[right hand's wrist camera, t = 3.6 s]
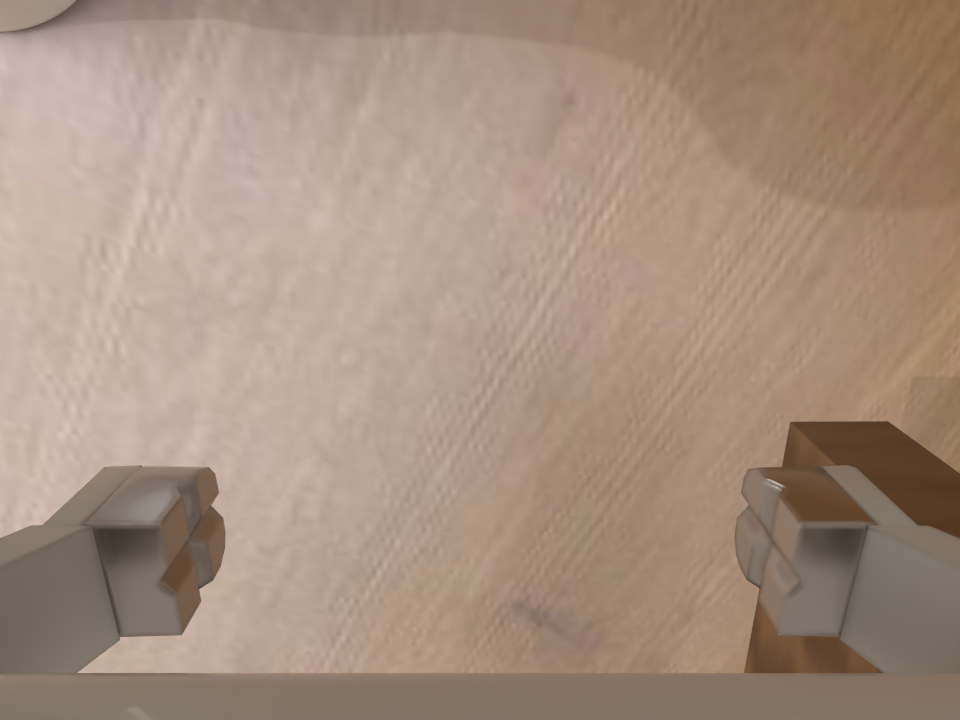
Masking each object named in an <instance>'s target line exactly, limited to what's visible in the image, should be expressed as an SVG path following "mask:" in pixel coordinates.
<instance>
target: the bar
mask: <svg viewBox="0 0 960 720" xmlns="http://www.w3.org/2000/svg"><path fill="white" fill-rule="evenodd" d="M843 465H848V466H851V467H855V468H857V469H858V470H859V471H860V472H861V473H862V474H863V475H865V476H866V477H867V478H868V479H869V480H870V481H871V482H872V483H873V484H874V485H875V486H876V487H877V488H878V489H879V490H881V491H882V492H883V493H884V494H885V495H886V496H887V497H888V498H889V499H890V500H891V501H892V502H893V503H894V504H895V505H896V506H898V507H899V508H900V509H901V510H902V511H903V512H904V513H905V514H906V515H907V516H908V517H909V518H910V519H911V520H912V521H914V522H915V523H916V524H917V525H918V526H931V527H933V528H936V529H938V530H941V531H943V532H945V533H948V534H950V535H952V536H955V537H957V538H960V473H958V472H957V471H955V470H954V469H953V468H951V467H950V466H949V465H947V464H946V463H944V462H943V461H942V460H940V459H939V458H938V457H936V456H935V455H933V454H932V453H931V452H929V451H928V450H927V449H925V448H924V447H922V446H921V445H920V444H918V443H917V442H916V441H914V440H913V439H911V438H910V437H909V436H907V435H906V434H905V433H903V432H902V431H901V430H899V429H898V428H896V427H895V426H894V425H892V424H891V423H890V422H790V427H789V432H788V437H787V443H786V448H785V454H784V459H783V465H782V467H809V466H843ZM760 592H761V589H759V595H758V600H757V606H756V611H755V617H754V622H753V628H752V633H751V638H750V644H749V649H748V655H747V660H746V666H745V671H744V673H883V672H882V671H880V670H879V669H878V668H876V667H875V666H874V665H873V664H871V663H870V662H869V661H867V660H866V659H865V658H863V657H862V656H861V655H859V654H858V653H857V652H855V651H854V650H853V649H852V648H850V647H849V646H848V645H846V644H845V643H844V642H842V641H841V640H840V637H826V636H789V635H778V634H777V632H776V630H775V628H774V627H773V625H772V623H771V622H770V620H769V618H768V616H767V615H766V613H765V611H764V609H763V608H762V606H761V604H760V602H759V597H760Z"/></svg>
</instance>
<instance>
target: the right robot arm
mask: <svg viewBox="0 0 960 720" xmlns="http://www.w3.org/2000/svg"><path fill="white" fill-rule="evenodd" d="M76 1H77V0H0V32H7V31H15V30H21V29H26V28H30V27H33V26H36V25H39V24H41V23H44V22H46V21H48V20H50V19H52V18H54V17H56V16H57V15H59V14H60V13H62V12H64V11H65V10H66V9H67V8H69V7H70V6H71V5H72V4H74V3H75V2H76ZM218 494H219V491H218V486H217V481H216V476H215V473H214V472H213V471H212V470H211V469H210V468H209V467H166V466H144V467H143V466H141V465H139V466H111V467H104V468H103V469H102V470H101V471H100V472H99V473H98V474H97V475H96V476H95V477H94V478H92V479H91V480H90V481H89V482H88V483H87V484H86V485H85V486H84V487H83V488H82V489H81V490H80V491H79V492H78V493H76V494H75V495H74V496H73V497H72V498H71V499H70V500H69V501H68V502H67V503H66V504H65V505H64V506H63V507H61V508H60V509H59V510H58V511H57V512H56V513H55V514H54V515H53V516H52V517H51V518H50V519H49V520H48V521H47V522H45V523H44V524H43V525H42V526H29V527H27V528H24V529H22V530H19V531H17V532H15V533H12V534H10V535H8V536H5V537H3V538H0V720H960V538H957V537H955V536H952V535H950V534H948V533H945V532H943V531H941V530H938V529H936V528H933V527H931V526H918V525H917V524H916V523H915V522H914V521H912V520H911V519H910V518H909V517H908V516H907V515H906V514H905V513H904V512H903V511H902V510H901V509H900V508H899V507H898V506H896V505H895V504H894V503H893V502H892V501H891V500H890V499H889V498H888V497H887V496H886V495H885V494H884V493H883V492H882V491H881V490H879V489H878V488H877V487H876V486H875V485H874V484H873V483H872V482H871V481H870V480H869V479H868V478H867V477H866V476H865V475H863V474H862V473H861V472H860V471H859V470H858V469H857V468H855V467H851V466H848V465H843V466H809V467H768V468H750V469H748V470H747V472H746V475H745V477H744V479H743V485H742V490H741V494H742V495H743V497H744V498H745V500H746V501H747V503H748V504H749V506H748V507H747V508H746V509H745V510H744V511H743V512H742V513H741V514H740V515H739V516H738V517H737V521H736V529H735V537H734V538H735V548H736V556H737V559H738V562H739V566H740V568H741V570H742V572H743V574H744V576H745V578H746V580H748V581H749V582H751V583H752V584H754V585H755V586H757V587H759V588H760V589H761V592H760V597H759V602H760V604H761V606H762V608H763V609H764V611H765V613H766V615H767V616H768V618H769V620H770V622H771V623H772V625H773V627H774V628H775V630H776V632H777V634H778V635H789V636H826V637H840V640H841V641H842V642H844V643H845V644H846V645H848V646H849V647H850V648H852V649H853V650H854V651H855V652H857V653H858V654H859V655H861V656H862V657H863V658H865V659H866V660H867V661H869V662H870V663H871V664H873V665H874V666H875V667H876V668H878V669H879V670H880V671H882V672H883V673H77V672H79V671H80V670H81V669H82V668H84V667H85V666H86V665H88V664H89V663H90V662H92V661H93V660H94V659H96V658H97V657H98V656H100V655H101V654H102V653H103V652H105V651H106V650H107V649H109V648H110V647H111V646H113V645H114V644H115V643H117V642H118V641H119V640H120V637H134V636H169V635H182V634H183V632H184V630H185V629H186V627H187V625H188V623H189V622H190V620H191V618H192V616H193V615H194V613H195V611H196V609H197V608H198V606H199V604H200V602H201V597H200V592H199V589H200V588H202V587H203V586H205V585H206V584H208V583H209V582H211V581H212V580H214V578H215V576H216V574H217V572H218V570H219V568H220V566H221V563H222V558H223V554H224V550H225V527H224V520H223V517H222V516H221V515H220V514H219V513H218V512H217V511H216V510H215V509H214V508H213V507H212V506H211V504H212V503H213V501H214V500H215V498H216V497H217V495H218Z"/></svg>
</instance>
